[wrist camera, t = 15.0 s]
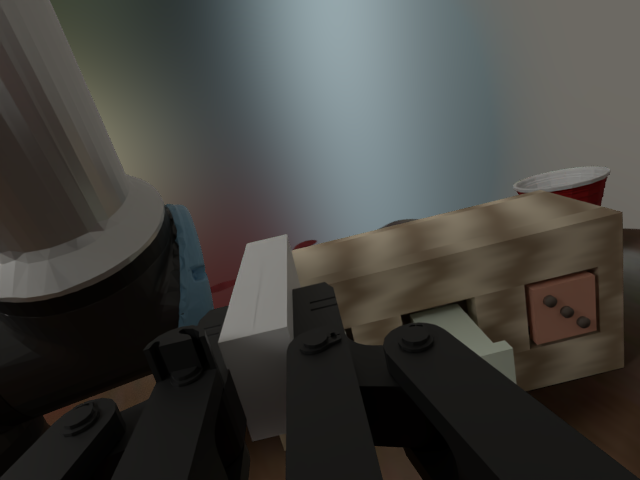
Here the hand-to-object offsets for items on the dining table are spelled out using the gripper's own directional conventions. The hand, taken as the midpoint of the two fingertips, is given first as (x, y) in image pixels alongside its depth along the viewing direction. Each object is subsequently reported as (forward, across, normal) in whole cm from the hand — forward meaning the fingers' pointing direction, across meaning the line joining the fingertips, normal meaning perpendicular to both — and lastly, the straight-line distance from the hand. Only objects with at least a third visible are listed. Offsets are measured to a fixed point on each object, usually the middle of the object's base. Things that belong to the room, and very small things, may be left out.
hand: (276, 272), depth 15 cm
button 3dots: (+17, +20, -17) cm, 31 cm away
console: (+19, +10, -22) cm, 30 cm away
